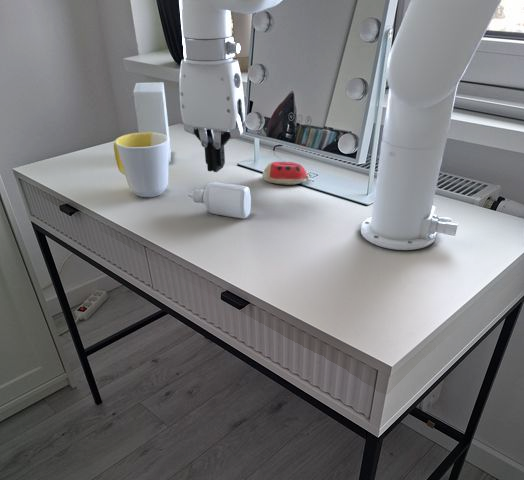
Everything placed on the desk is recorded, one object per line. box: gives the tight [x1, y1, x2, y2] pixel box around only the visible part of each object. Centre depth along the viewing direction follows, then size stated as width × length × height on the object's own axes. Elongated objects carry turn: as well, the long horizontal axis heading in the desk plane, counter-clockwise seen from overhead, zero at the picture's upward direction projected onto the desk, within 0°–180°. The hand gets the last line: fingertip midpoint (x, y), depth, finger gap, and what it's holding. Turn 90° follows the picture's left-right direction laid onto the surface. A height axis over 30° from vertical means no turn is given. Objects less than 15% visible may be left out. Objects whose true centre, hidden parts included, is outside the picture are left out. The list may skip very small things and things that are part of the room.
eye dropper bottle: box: [187, 181, 252, 220], centre depth 93 cm, size 4×6×12 cm
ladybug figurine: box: [262, 161, 310, 186], centre depth 106 cm, size 7×10×4 cm
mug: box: [113, 132, 169, 198], centre depth 101 cm, size 14×10×10 cm
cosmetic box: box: [132, 81, 172, 164], centre depth 115 cm, size 8×7×16 cm
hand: (215, 169), depth 89 cm, fingers closed
